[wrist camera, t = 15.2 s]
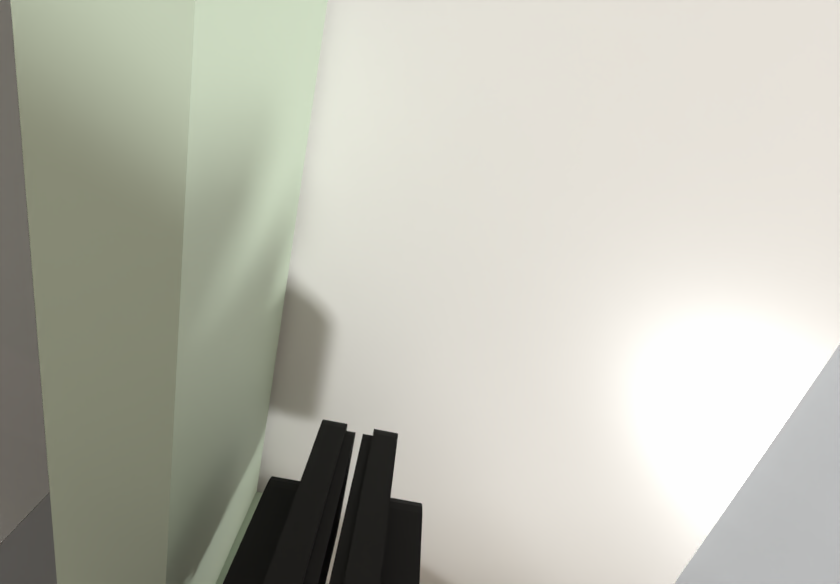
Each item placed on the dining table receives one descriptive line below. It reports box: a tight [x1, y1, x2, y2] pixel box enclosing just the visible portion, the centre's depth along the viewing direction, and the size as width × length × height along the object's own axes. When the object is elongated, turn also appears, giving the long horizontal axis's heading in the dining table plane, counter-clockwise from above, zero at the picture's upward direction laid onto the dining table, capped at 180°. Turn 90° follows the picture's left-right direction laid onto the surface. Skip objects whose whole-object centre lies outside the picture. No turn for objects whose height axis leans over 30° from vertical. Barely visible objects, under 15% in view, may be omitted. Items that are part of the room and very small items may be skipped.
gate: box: [10, 0, 328, 584], centre depth 9 cm, size 14×2×5 cm, turn 166°
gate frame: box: [0, 0, 840, 584], centre depth 10 cm, size 27×17×5 cm, turn 165°
